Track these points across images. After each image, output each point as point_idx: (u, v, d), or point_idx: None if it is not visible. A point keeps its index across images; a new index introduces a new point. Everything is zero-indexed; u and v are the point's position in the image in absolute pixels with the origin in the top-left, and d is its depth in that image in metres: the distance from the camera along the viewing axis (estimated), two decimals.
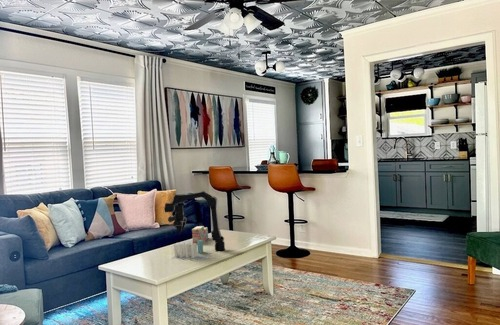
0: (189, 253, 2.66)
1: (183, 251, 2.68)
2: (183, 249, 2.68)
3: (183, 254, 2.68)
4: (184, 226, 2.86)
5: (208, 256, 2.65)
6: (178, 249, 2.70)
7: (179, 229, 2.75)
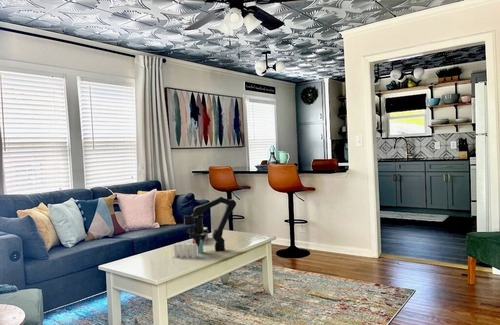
0: (189, 253, 2.66)
1: (183, 251, 2.68)
2: (183, 249, 2.68)
3: (183, 254, 2.68)
4: (204, 239, 2.79)
5: (208, 256, 2.65)
6: (178, 249, 2.70)
7: (197, 241, 2.73)
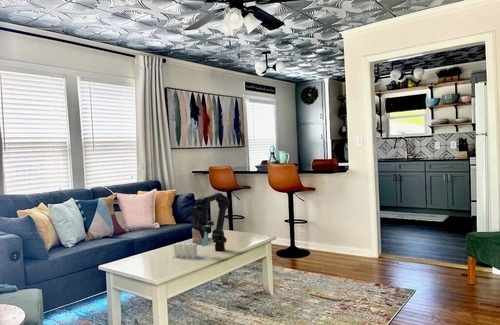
0: (189, 253, 2.66)
1: (183, 251, 2.68)
2: (183, 249, 2.68)
3: (183, 254, 2.68)
4: None
5: (208, 256, 2.65)
6: (178, 249, 2.70)
7: (202, 233, 2.61)
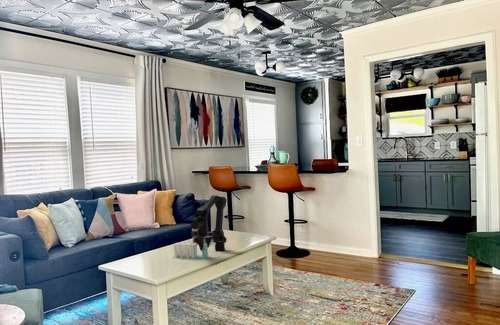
0: (189, 253, 2.66)
1: (183, 251, 2.68)
2: (183, 249, 2.68)
3: (183, 254, 2.68)
4: None
5: (208, 256, 2.65)
6: (178, 249, 2.70)
7: (201, 245, 2.57)
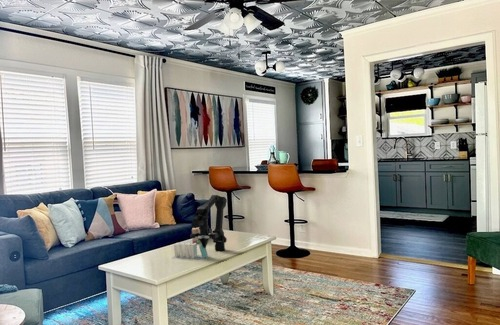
0: (189, 253, 2.66)
1: (183, 251, 2.68)
2: (183, 249, 2.68)
3: (183, 254, 2.68)
4: (205, 243, 2.60)
5: (208, 256, 2.65)
6: (178, 249, 2.70)
7: None
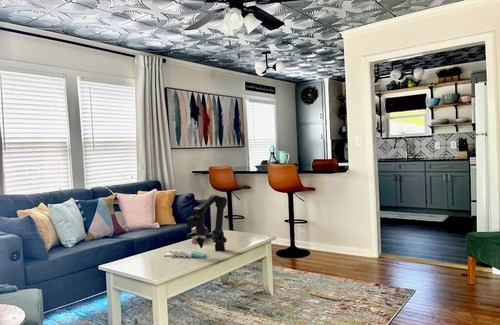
0: None
1: None
2: None
3: None
4: (201, 243, 2.61)
5: (208, 256, 2.65)
6: (170, 253, 2.73)
7: None
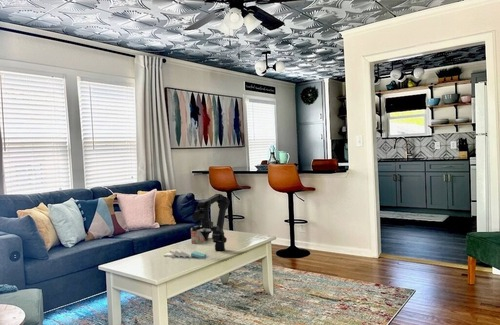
0: None
1: None
2: None
3: None
4: (206, 236, 2.64)
5: (208, 256, 2.65)
6: (170, 253, 2.73)
7: None
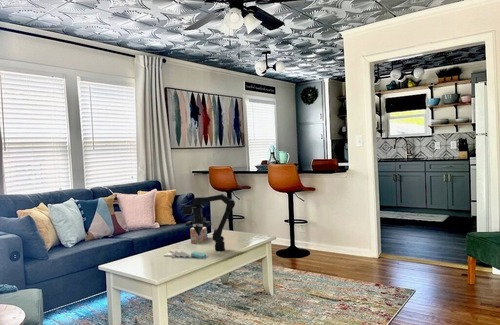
0: None
1: None
2: None
3: None
4: (199, 231, 2.78)
5: (208, 256, 2.65)
6: (170, 253, 2.73)
7: None
